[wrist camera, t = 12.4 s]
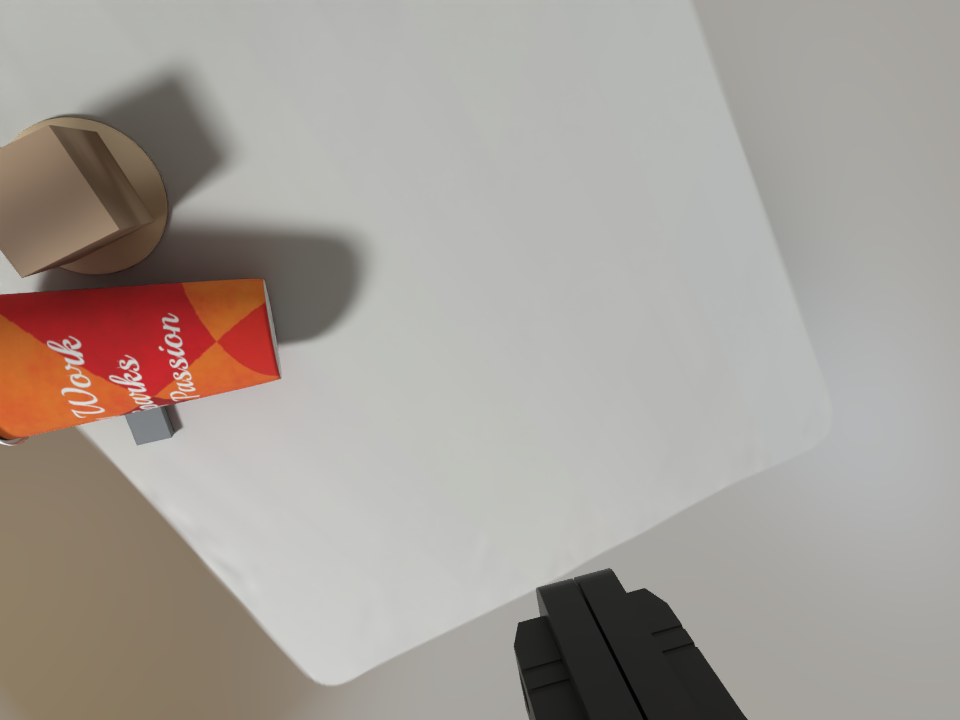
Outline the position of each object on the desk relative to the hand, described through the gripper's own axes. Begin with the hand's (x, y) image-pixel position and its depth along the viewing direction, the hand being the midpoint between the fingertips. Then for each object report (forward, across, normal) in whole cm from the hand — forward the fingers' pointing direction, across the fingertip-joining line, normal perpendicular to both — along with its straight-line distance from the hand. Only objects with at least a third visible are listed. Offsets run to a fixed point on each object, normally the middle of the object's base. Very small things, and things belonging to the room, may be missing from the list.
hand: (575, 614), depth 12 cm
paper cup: (+24, +9, -2) cm, 26 cm away
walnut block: (+27, +17, -10) cm, 33 cm away
